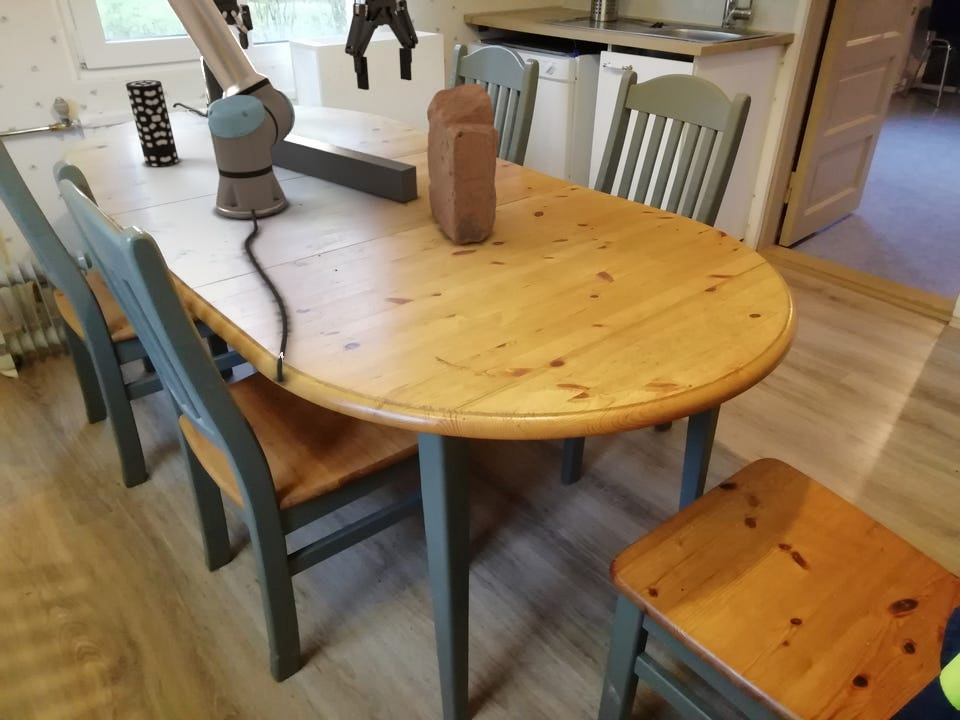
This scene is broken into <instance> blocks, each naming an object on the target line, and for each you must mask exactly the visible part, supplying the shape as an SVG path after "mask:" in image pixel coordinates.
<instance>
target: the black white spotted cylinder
mask: <svg viewBox="0 0 960 720" xmlns="http://www.w3.org/2000/svg"><path fill="white" fill-rule="evenodd" d="M125 87H126V91H127V95H128V99H129V103H130V107H131V110H132V115H133V118H134V122H135V123H134V124H135V127H136V130H137V134H138V139H139V143H140V146H141V150H142V155H143V158H144V163H145V164H146V165H147V166H151V167H164V166H170V165H174V164H176V163H178V162H179V155H178V150H177V146H176V142H175V137H174V133H173V128H172V125H171V121H170V116H169V111H168V107H167V103H166V98H165V93H164V89H163V84H162V81H161V80H155V79H154V80H153V79H151V80H150V79H145V80H144V79H141V80H134V81H130V82H129V81H128V82H127V83H126V84H125Z"/></svg>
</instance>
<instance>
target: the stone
mask: <svg viewBox="0 0 960 720" xmlns="http://www.w3.org/2000/svg"><path fill="white" fill-rule="evenodd" d="M426 110H427V111H426V114H427V120H428V133H427V148H426V159H427V170H428V178H429V181H430V183H429V186H428V195H429V196H428V197H429V206H430V210H431V213H432V215H433V216H434V218H435V220H436V222H437V223H438V224H439V225H440V227H441V229H442V231H443V232H444V233H445V235H446V236H447V238H450V239H451V240H452V242H453V243H455V244H463V245H464V244H468V243H475V242H482V241H484V240H485V238H487V236H488V235H491V234H492V232H493V231H494V230H493V229H494V225H495V223H496V215H497V214H496V209H497V200H498V199H497V198H498V197H497V188H496V184H495V183H496V179H495V178H496V174H497V173H496V170H497V157H498V149H499V144H500V143H499V142H500V141H499V139H500V135H499V130H497V129H496V128H495V125H494V108H493V104H492V99H491V97H490V95H489V93H487V92H486V89H485V88H484V87H483V86H482V84H480V83H465V84H461V85H457V86H453V87H451V88H448V89H447V88H446V89H440V90H438V91H437V92H436V93H435V94H434V95H433V97H432V99H431V101H430V103H429V104H428V106H427V109H426Z"/></svg>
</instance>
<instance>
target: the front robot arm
mask: <svg viewBox="0 0 960 720" xmlns="http://www.w3.org/2000/svg"><path fill="white" fill-rule="evenodd" d="M165 1H166V3H167V4H168V6H169V8H170V9H171V11H172V12H173V14H174V15H175V17H176V19H177V20H178V21H179V23H180V25H181V26H182V28H183V29H184V31H185V32H186V34H187V35H188V37H189V39H190V40H191V42H192V44H193V45H194V46H195V48H196V50H197V51H198V53H199V54H200V56H201V57H203V59H204V60H205V62H206V64H207V65H208V67H209V68H210V70H211V71H212V73H213V75H214V76H215V78H216V79H217V81H218V82H219V84H220V86H221V87H222V89H223V91H224V95H223V98H221V99H219V100H216V101H215V102H213V103H212V104H211V105H210V106H209V108H208V116H207V124H208V129H209V131H210V132H209V133H210V136H211V142H212V147H213V151H214V156H215V161H216V167H217V169H218V170H217V172H218V185H217V193H216V201H215V206H216V210H217V213H218V214H219V215H221V216H223V217H225V218H229V219H236V220H252V223H253V230H252V232H251V233H250V234H249V235H248V236H247V237H246V239H245V242H244V250H245V252H246V254H247V256H248V258H249V259H250V261H251V264H252V266H253V267H254V268H255V269H256V271H257V272H258V274H259V275H260V277H261V278H262V280H263V281H264V282H265V284H266V285H267V286H268V288H269V289H270V291H271V293H272V294H273V295H274V298H275V300H276V302H277V305H278V307H279V310H280V314H281V321H282V335H281V342H280V348H279V353H278V354H279V355H280V353H281V352H283V356H284V358H283V361H284V359H285V355H286V349H287V341H288V333H289V330H288V327H289V326H288V317H287V312H286V309H285V305H284V302H283V300H282V298H281V296H280V294H279V293H278V290H277V289H276V286H274V284H273V283H272V282H271V280H270V279H269V277H268V276H267V275H266V273H265V271H263V269H262V268H261V266H260V265H259V264H258V262H257V260H256V258H255V257H254V254H253V253H252V251H251V249H250V242H251V240H252V239H253V238H254V237H255V235H256V234H257V232H258V230H259V225H258V221H257V219H260V218H261V219H262V218H265V217H266V218H267V217H270V216H274V215H276V214H278V213H280V212H282V211H283V210H285V209H286V207H287V199H286V194H285V193H284V191H283V189H282V187H281V184H280V182H279V180H278V179H277V177H276V175H275V172H274V167H273V164H272V160H271V153H270V149H271V148H272V147H273V146H275V145H276V144H277V143H279V142H281V141H283V140H284V139H285V138H286V137H287V136H288V134H291V132H292V130H293V128H294V126H295V121H296V113H295V108H294V106H293V104H292V103H293V102H291V100H290V98H289V97H288V96H287V95H286V94H285V93H284V92H283V91H281V90H278V89H277V88H274V86H273V84H272V82H271V81H270V79H269V77H268V76H267V75H266V74H262V73H259V72H257V71H256V69H255V67H254V66H253V64H252V63H251V61H250V59H249V57H248V56H247V54H246V53H245V51H244V49H242V48H241V46H240V42H239V41H238V39H237V38H236V36H235V34H234V33H233V31H232V29H231V28H230V25H227V23H226V21H225V20H224V18H223V16H222V15H221V13H220V11H219V10H218V8H217V7H216V5H215V3H214V2H213V0H165ZM386 25H387V26H388V27H389V28H390V30H391V31H392V33H393V35H394V36H395V38H396V39H397V41H398V42H399V44H400V45H401V47H399V48H398V51H399V52H398V54H399V72H400V74H399V75H400V80H403V81H412V79H413V78H412V63H413V49H414V50H415V49H416V45H418V44H419V39H418V34H417V33H416V30H415V27H414V24H413V21H412V19H411V16H410V13H409V11H408V1H407V0H364V3H358V2H353V5H352V18H351V22H350V26H349V30H348V35H347V39H346V43H345V48H344V53H345V54H347V55H349V56H351V57H352V58H353V68H354V73H355V74H356V83H357V84H356V85H357V89H359V90H363V91H368V90H370V83H369V68H368V67H369V66H368V57H367V56H364V55H365V53H366V51H367V49H368V46H369V44H370V42H371V39H372V37H373V35H374V33H375V31H376V30H377V29H378V28H379V27H383V26H386ZM279 355H278V356H279ZM278 358H279V357H278ZM278 358H277V362H276V377H277V382H278V383H282V382H284V374H283V365H282V358H281V356H280V358H279V359H278Z"/></svg>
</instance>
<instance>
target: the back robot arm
mask: <svg viewBox="0 0 960 720" xmlns="http://www.w3.org/2000/svg"><path fill="white" fill-rule="evenodd" d="M213 2H214V3H215V5H216V7H217V8H218V10H219V11H220V13H221V15H222V16H223V18H224V20H225V21H226V23H227V25H228V26H233V27H235V29H236V31H237V32H238V38H239V44H240V46H241V48H242V49H243V50H248V49H249V46H250V41H249V37H248V34H249V33H248V32H250V31H253V29H254V25H253V21H252V15H251V9H250V6H249V5H248V4H238V0H213ZM239 15H240V16H241V18H240V16H239ZM200 62H201V69H202V73H203V77H204V82H205V87H206V88H205V89H206V92H205V93H206V94H205V95H206V100H207V101H206V103H205V104H206V108H207V109H206V113H204V112H202V111H201V110H199V109H197V108H195V107H192V106H188V105H186V104H183V103H181V102H175V103H173V105H172V108H176V107H177V106H180V107H182V108H184V109H187V110H190V111H193V112H195V113H198V114H199V115H201V116H202V117H208V108H209V106H210V105H211V104H212V103H213V102H215V101H216V100H219V99H221V98H223V95H224V91H223V89H222V87H221V86H220V84H219V82H218V81H217V79H216V78H215V76H214V75H213V73H212V71H211V70H210V68H209V67H208V65H207V64H206V62H205V60H204V59H203V57H202V56H201V57H200Z"/></svg>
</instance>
